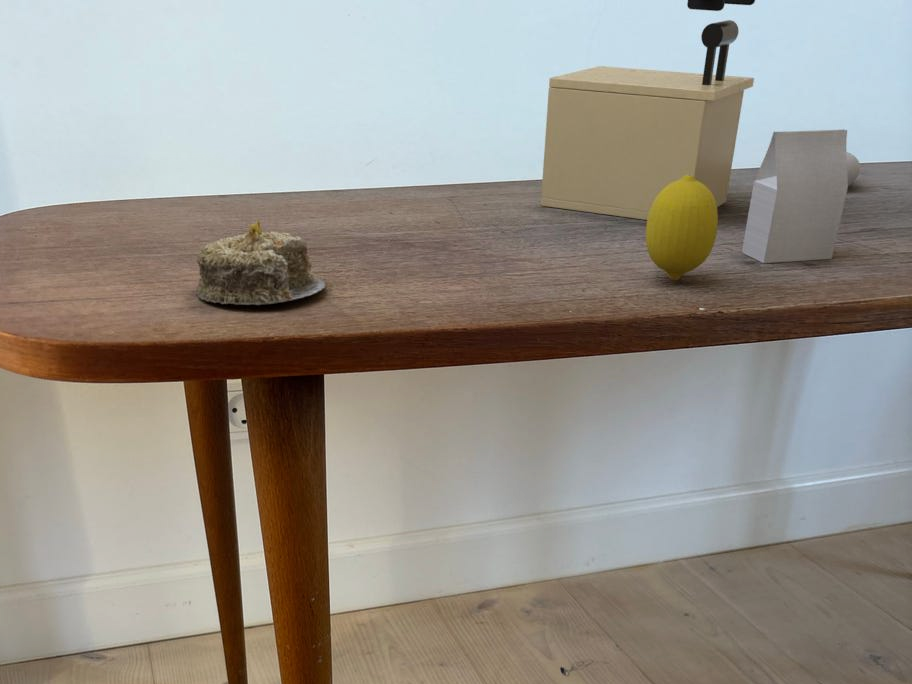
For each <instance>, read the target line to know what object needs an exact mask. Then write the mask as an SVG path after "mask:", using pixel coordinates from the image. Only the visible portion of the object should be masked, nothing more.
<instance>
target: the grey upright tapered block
mask: <svg viewBox="0 0 912 684" xmlns="http://www.w3.org/2000/svg"><path fill="white" fill-rule="evenodd" d="M847 138H848V130H847V129H819V130H818V129H817V130H815V129H814V130H788V131H773V133H772V136H771V139H770V142H769V144H768V148H767V150H766V153H765V156H764V158H763V159H762V162H761V164H760V167H759V168H758V171H757V174H756V176H755V178H754V181H753V185H752V191H751V197H750V204H749V208H748V215H747V220H746V226H745V232H744V237H743V241H742V242H743V243H742V249H741V253H742V254H743V255H746V256H748V257H749V258H752V259H754V260H756V261H758V262H759V263H761V264H773V263H774V264H775V263H789V262H790V263H791V262H804V261H819V260H832V259H833V255H834V252H835V247H836V243H837V237H838V233H839V229H840V224H841V220H842V215H843V210H844V206H845V202H846V197H847V192H848V189H849V186H848V177H847V156H846V152H847Z"/></svg>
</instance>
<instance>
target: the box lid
mask: <svg viewBox="0 0 912 684" xmlns="http://www.w3.org/2000/svg"><path fill="white" fill-rule="evenodd" d="M738 36H739V26H738V24H737V23H736V21H734V20H730V19H728V20H723V21H722V20H721V21H716V22H712V23H709V24H707V25H706V26H705V27H704V28H703V30H702V32H701V37H700V39H701V43H702V44H703V46H704V47H705V48H706V52H705V53H706V54H705V61H704V67H703V73H696V72H695V73H694V72H683V71H682V72H681V71H668V70H655V69H642V68H628V67H618V66H617V67H615V66H604V65H599V66H593V67H590V68H586V69H581V70H578V71H577V70H576V71H573V72H569V73H564V74H560V75H556V76H552V77H549V80H548V81H549V83H548V88H550V87H555V88H566V89H578V90H589V91H601V92H613V93H624V94H636V95H647V96H659V97H670V98H682V99H693V100H705V101H715V100H718V99H721V98H723V97H726V96H729V95H732V94H734V93H737V92H740V91H742V90H744V91H745V90H747V89H750V88H753V87H754V81H755V78H754V77H749V76H748V77H747V76H733V75H726V69H727V62H728V56H729V49H730V45H731V44H733V43H734V42H735V41H736V40H737V38H738ZM717 48H719V51H718V57H717V64H716V71H715V74H714V67H715V62H716V61H715V60H716V55H717V54H716V53H717Z"/></svg>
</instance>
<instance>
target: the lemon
mask: <svg viewBox="0 0 912 684" xmlns="http://www.w3.org/2000/svg"><path fill="white" fill-rule="evenodd" d="M718 214H719V213H718V207H717V205H716V201H715V198H714V196H713V194H712V193H711V191H710V190H709V189H708V188H707V187H706V186H705V185H704V184H702V183H701V182H699V181H697V180H696V179H695V178H694V176H693V175H685V176H684V177H683V178H682V179H680V180H677V181H675V182H672V183H671V184H669V185H668V186H666V187H665V188H664V189H663V190H662V191H661V192H660V193H659V194H658V195H657V197H656V199H655V200H654V202H653V205H652V207H651V210H650V213H649V216H648V220H646V226H645V244H646V249H647V252H648V253H647V254H648V256H649V257H650V259H651V261H652V262H653V263H654V265H655V266H657V267H658V268H659V269H661V270H662V271H664V272H665V273H666V275H667V277H669V279H670V280H673V281H678V280H679V279H681V278H682V277H683V276H684V275H685V274H687V273H688V272H689V273H690V272H691V271H693V270H695V269H697V268H698V267H700V266H702V265H703V264H704V262H705V261H706V260H707V259H708V258H709V256H710V254H711V252H712V250H713V248H714V245H715V242H716V239H717V232H718V227H719V226H718V223H719V216H718Z"/></svg>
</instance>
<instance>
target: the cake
mask: <svg viewBox="0 0 912 684" xmlns="http://www.w3.org/2000/svg"><path fill="white" fill-rule="evenodd" d="M248 229H249V230H248V232H247V233H243V234H239V235H234V236H233V237H230V236H227V237H224V238H223V239H222V238H220V239H218V240H215V241H213V242H210V243H207V244H206V245H204V246H203V247H202V248H201V250H200V251H199V252H198V253H197V256H196V257H197V259H196V262H197V264H198V267H199V273H198V274H199V275H200V277H199V278H198V284H197V288H196V290H195V295H196V296H197V298H198V299H201V300H204V301H206V303H207V302H210V303H214V304H216V303H217V304H218V303H219V304H220V305H228V304H229V305H237V306H239V305H241V306H243V305H245V306H252V305H254V306H261V305H263V306H264V305H274V304H279V303H286V302H291V301H295V300H299V299H304V298H305V297H306V298H307V297H310V296H313V295H315V294H318V292H321V291H322V290H323V289H325V288H326V283H325V281H324V280H323V279H321V278H318V277H317V276H316V274H315V273H314V271H312V266H313V265H314V263H313V262H312V261H311V260H310V255H309V251H308V250H309V249H308V245H307V241H306V240H305V239H302V237H300V236H298V235H295V236H292V234H291V232H282V233H280V232H279V231H273V230H272V231H270V232H263V230H261V223H260V221H259V220H255V222H254V223H253V224H251V226H250V227H248Z"/></svg>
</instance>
